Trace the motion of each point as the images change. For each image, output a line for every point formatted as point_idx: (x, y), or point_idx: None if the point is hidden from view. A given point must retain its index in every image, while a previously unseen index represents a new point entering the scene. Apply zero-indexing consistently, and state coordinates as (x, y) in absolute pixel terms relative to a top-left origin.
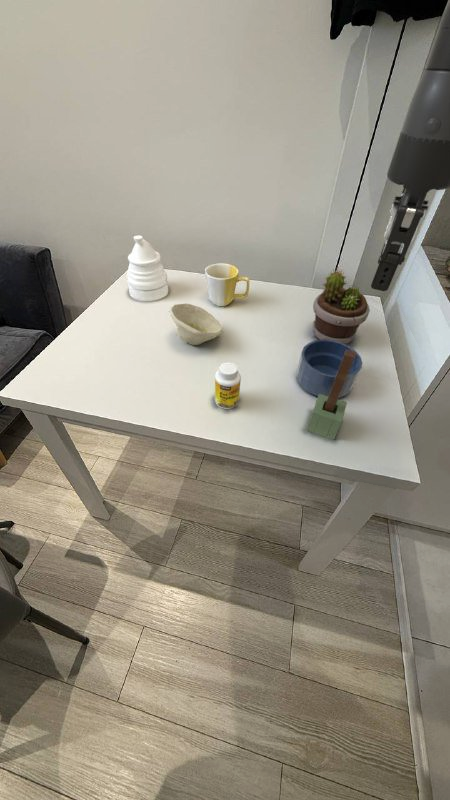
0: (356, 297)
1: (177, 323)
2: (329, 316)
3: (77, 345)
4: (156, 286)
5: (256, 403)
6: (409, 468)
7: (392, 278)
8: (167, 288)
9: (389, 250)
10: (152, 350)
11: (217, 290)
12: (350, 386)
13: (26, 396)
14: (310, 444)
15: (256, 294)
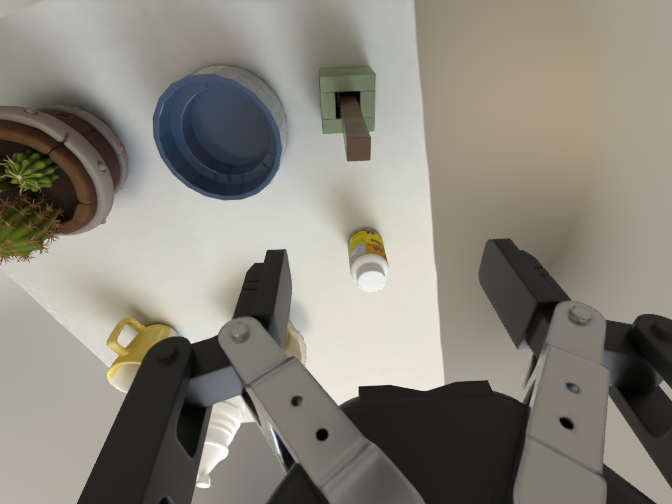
0: None
1: (305, 362)
2: (105, 191)
3: (357, 395)
4: (220, 405)
5: (348, 205)
6: None
7: (528, 262)
8: None
9: (283, 306)
10: (322, 345)
11: None
12: (244, 75)
13: (442, 384)
14: (394, 102)
15: (92, 304)
